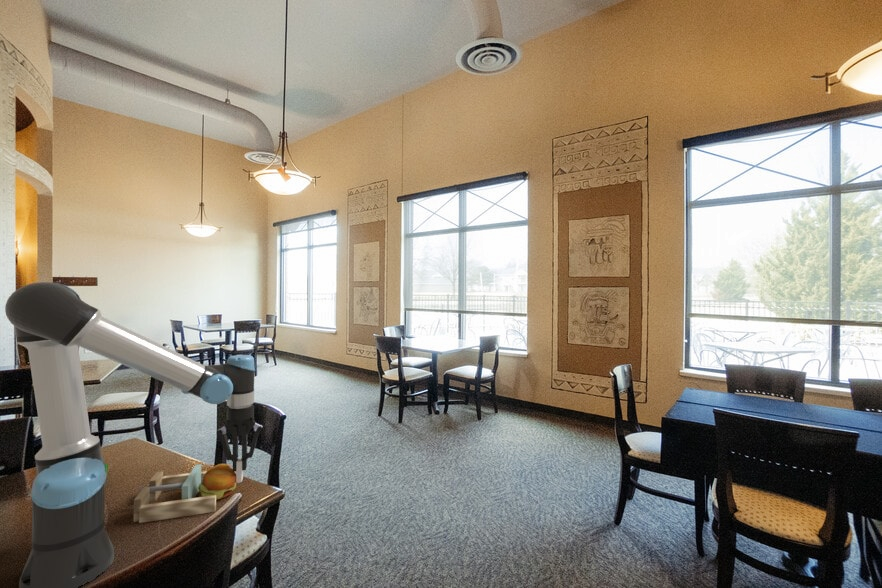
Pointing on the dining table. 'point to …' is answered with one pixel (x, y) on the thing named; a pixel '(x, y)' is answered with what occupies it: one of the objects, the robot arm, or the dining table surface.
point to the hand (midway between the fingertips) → (239, 480)
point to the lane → (171, 508)
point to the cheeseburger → (218, 482)
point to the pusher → (184, 484)
